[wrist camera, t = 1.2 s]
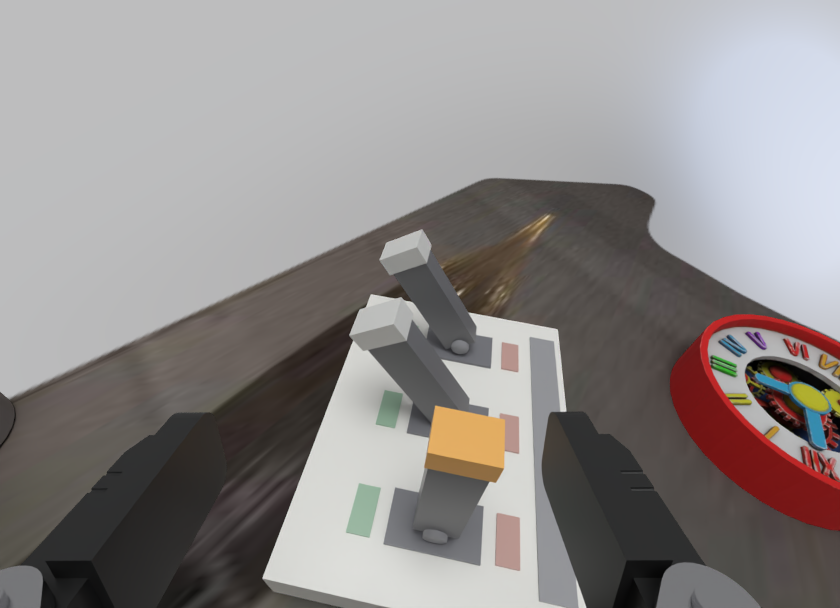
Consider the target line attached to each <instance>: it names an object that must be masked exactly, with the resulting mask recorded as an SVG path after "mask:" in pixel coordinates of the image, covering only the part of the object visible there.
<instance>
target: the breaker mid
mask: <svg viewBox="0 0 840 608" xmlns="http://www.w3.org/2000/svg"><path fill="white" fill-rule="evenodd" d="M412 318H413V313H412V311H411V310H410V308H409V307H408V306H407V304H406V303H405V301H404V300H403V299H402V297H401V298H397V299H394V300H391V301H387V302H384V303H381V304H377V305H374V306H370V307H367V308H364V309H360V310H359V312H358V315H357V317H356V320H355V322H354V325H353V327H352V330H351V333H350V335H349V336H350V337H351V338H352V339H353V341H354V342H355V343H356V344H357V345H358V346H359V347H360V348H361V350H362V351H366V350H368V351H369V352H370V353H371V354H372V356H373V357H374V358H375V359H376V360H377V361H378V362H379V364H380V365H381V366H382V367H383V368H384V369H385V370H386V372H387V373H388V374H389V375H390V376H391V377H392V379H393V380H394V381H395V382H396V383H397V384H398V385H399V387H400V388H401V389H402V390H403V391H404V392H405V393H406V395H407V396H408V397H409V398H410V399H411V400H412V401H413V403H414V404H415V405H416V406H417V407H418V408H419V410H420V411H421V412H422V413H423V414H424V415H425V416H426V418H427V419H428V420H429V421H430V422H432V418H433V413H434V409H435V406H440V407H445V408H450V409H455V410H460V411H465V412H468V411H469V400H470V398H469V397H468V396H467V394H466V393H465V392H464V390H463V389H462V387H461V386H460V385H459V383H458V382H457V381H456V379H455V378H454V376H453V375H452V374H451V372H450V371H449V369H448V368H447V367H446V365H445V364H444V363H443V361H442V360H441V358H440V357H439V356H438V354H437V353H436V351H435V350H434V349H433V347H432V346H431V345H430V343H429V342H428V340H427V339H426V338H425V336H424V335H423V334H422V332H421V331H420V329H419V328H418V327H417V325H416V324H415V322H414V321H413V320H412Z"/></svg>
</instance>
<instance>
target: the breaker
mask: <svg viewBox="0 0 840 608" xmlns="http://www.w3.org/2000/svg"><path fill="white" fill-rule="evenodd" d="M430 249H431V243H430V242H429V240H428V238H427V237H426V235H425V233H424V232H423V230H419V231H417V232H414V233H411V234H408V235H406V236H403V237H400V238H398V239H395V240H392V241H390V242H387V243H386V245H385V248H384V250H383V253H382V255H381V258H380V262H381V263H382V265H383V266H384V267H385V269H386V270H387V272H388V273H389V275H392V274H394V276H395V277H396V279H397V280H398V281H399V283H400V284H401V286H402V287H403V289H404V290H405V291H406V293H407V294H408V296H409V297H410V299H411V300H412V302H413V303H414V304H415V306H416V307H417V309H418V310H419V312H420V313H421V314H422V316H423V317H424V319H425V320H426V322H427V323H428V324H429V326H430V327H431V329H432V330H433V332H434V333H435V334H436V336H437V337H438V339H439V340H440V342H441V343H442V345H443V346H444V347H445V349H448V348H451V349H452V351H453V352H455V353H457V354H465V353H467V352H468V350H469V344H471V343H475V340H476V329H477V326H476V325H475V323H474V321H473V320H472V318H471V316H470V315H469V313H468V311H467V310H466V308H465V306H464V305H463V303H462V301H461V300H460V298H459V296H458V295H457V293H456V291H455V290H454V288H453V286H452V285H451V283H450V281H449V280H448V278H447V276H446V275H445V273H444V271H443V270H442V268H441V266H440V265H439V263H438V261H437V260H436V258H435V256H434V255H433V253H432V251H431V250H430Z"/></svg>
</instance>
